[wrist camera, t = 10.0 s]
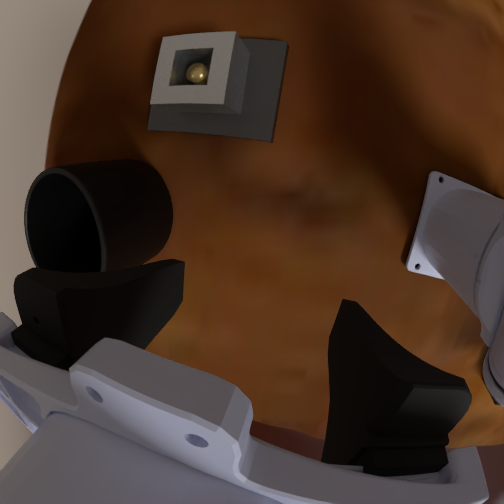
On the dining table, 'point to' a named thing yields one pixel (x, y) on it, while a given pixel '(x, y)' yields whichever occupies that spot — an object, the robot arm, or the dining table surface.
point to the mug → (97, 216)
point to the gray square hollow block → (219, 80)
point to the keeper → (254, 101)
